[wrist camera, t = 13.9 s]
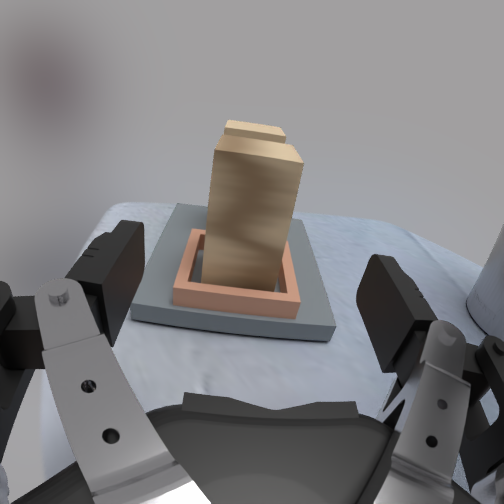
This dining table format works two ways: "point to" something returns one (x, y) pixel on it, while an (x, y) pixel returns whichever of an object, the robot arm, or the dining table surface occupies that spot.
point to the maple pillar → (249, 212)
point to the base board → (230, 298)
